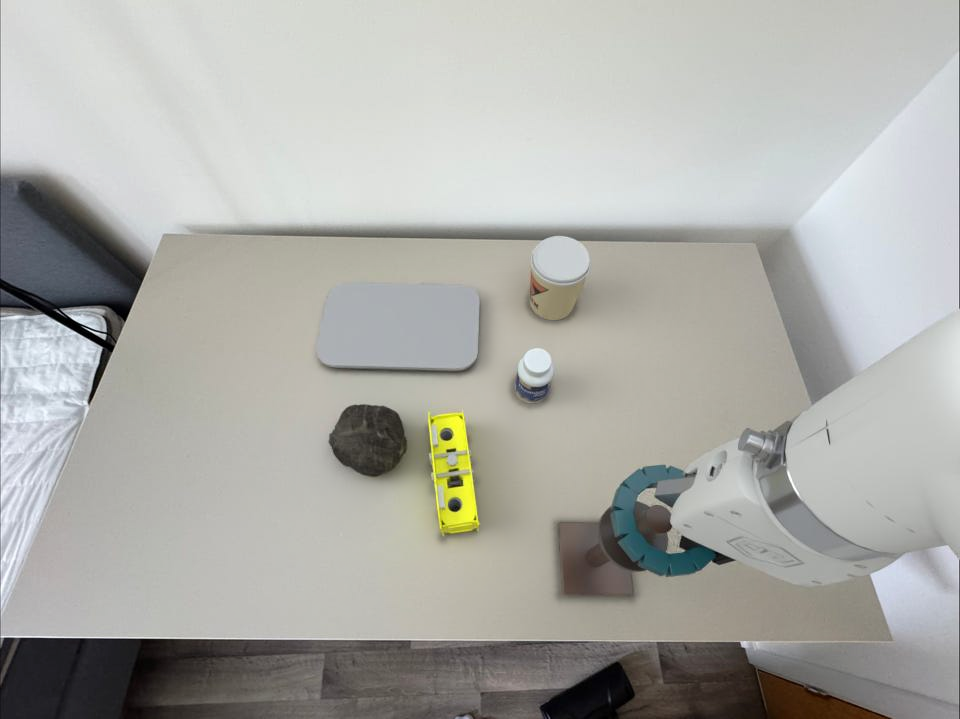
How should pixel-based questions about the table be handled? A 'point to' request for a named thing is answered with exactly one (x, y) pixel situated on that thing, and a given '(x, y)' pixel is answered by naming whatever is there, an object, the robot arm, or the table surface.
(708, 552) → the ring
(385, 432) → the rock
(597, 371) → the table surface
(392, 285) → the tablet
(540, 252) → the beige lidded canister
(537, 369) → the pill bottle
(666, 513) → the stand
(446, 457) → the yellow toy chassis
